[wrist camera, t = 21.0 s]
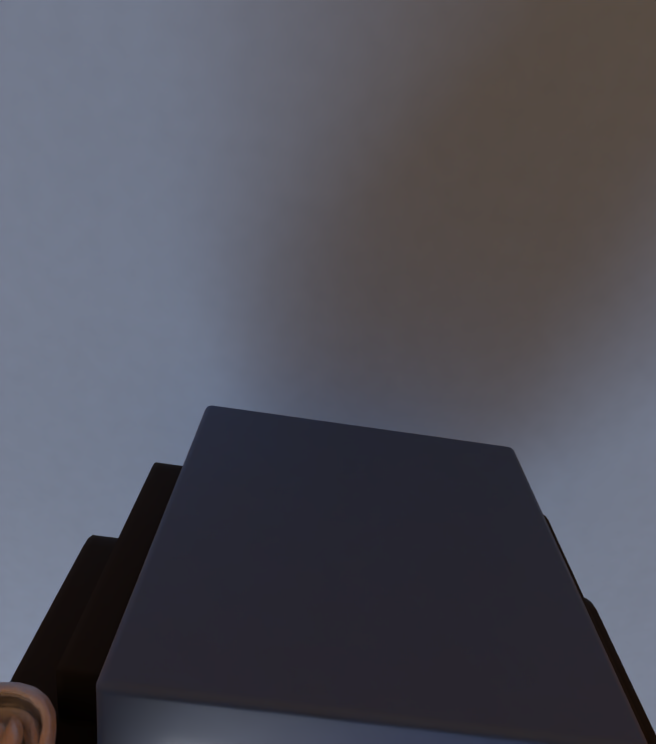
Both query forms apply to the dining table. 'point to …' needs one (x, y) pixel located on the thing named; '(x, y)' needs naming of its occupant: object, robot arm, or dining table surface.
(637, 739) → the blue block
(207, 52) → the blue mat
